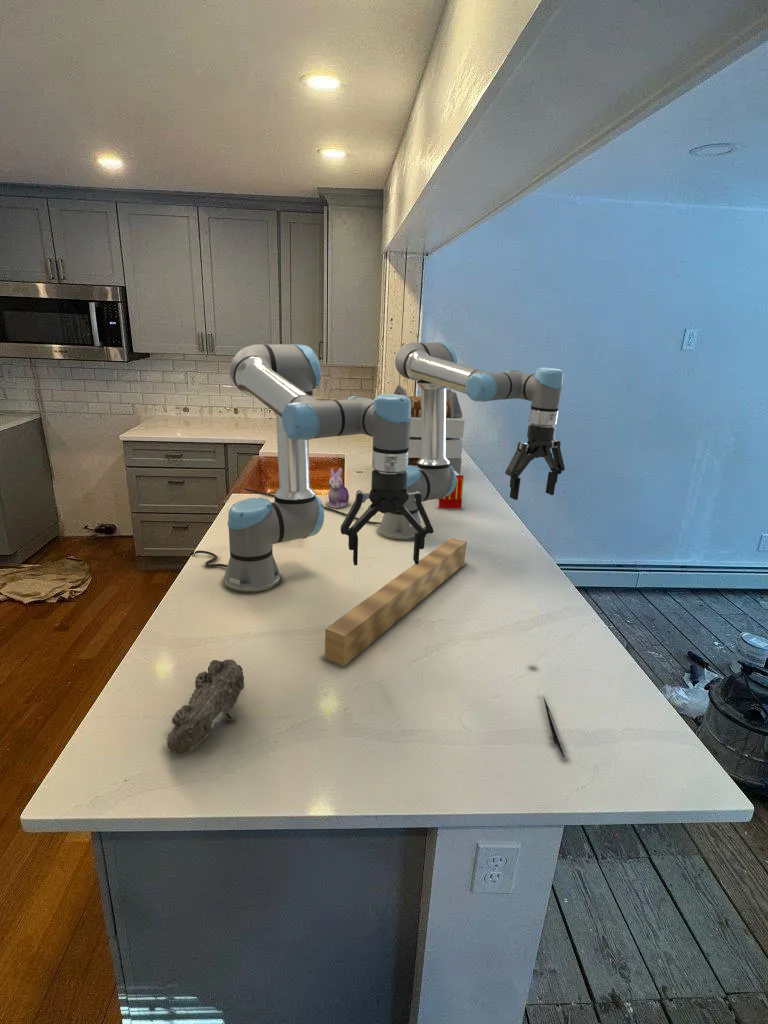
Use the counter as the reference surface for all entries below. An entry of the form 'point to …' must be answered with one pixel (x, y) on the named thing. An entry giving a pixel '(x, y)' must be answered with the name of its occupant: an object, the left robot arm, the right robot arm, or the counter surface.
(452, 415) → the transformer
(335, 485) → the figurine
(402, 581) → the post
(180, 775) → the counter surface
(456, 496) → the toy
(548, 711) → the feather
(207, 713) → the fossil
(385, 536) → the right robot arm
